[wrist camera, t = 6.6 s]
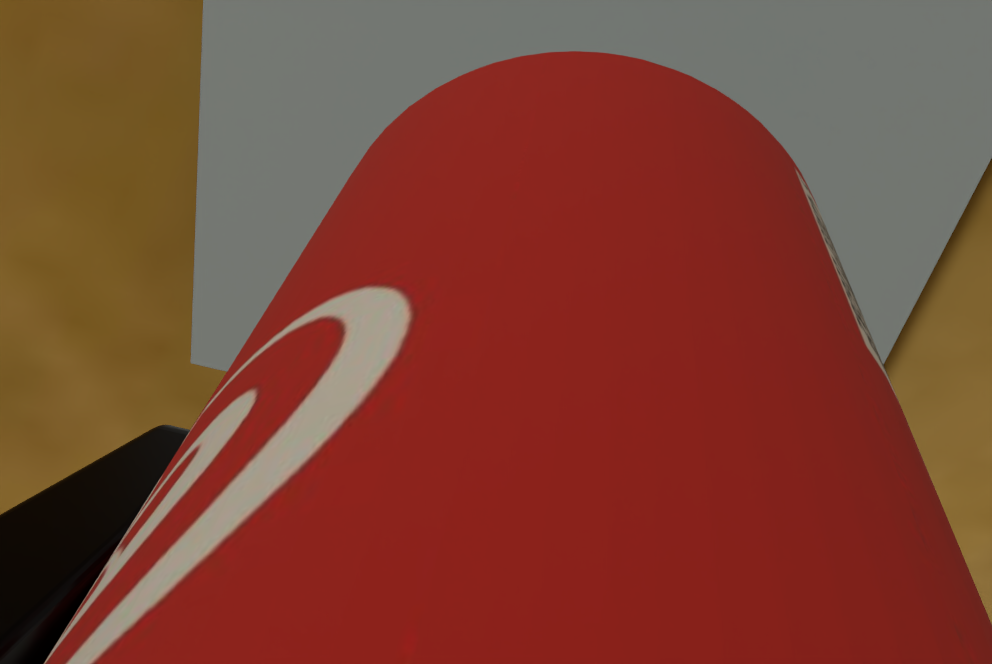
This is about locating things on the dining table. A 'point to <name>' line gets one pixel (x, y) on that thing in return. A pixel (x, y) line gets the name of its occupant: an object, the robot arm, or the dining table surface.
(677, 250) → the beverage can
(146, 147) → the dining table surface
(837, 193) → the slate board
